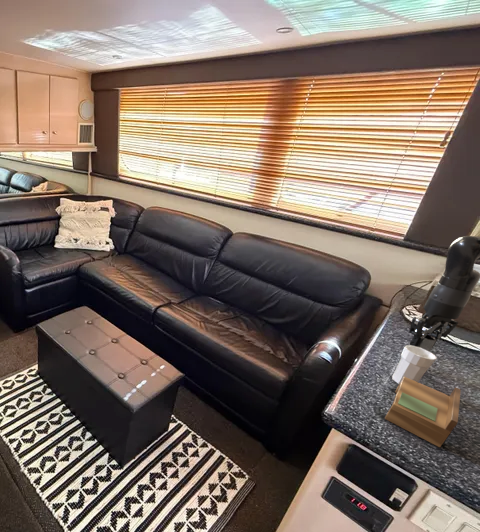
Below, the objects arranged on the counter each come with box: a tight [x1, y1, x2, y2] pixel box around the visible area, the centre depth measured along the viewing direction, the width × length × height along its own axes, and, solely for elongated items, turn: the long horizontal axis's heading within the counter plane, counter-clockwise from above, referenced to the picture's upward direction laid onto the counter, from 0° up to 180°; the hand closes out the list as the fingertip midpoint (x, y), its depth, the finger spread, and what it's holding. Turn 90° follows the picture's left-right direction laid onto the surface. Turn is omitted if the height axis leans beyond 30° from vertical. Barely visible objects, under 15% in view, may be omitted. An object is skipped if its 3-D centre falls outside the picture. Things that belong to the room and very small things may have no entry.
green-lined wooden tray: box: [384, 377, 462, 448], centre depth 82 cm, size 18×10×8 cm, turn 129°
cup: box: [391, 344, 438, 385], centre depth 94 cm, size 7×7×11 cm
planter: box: [420, 332, 437, 352], centre depth 103 cm, size 4×4×10 cm
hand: (420, 346), depth 103 cm, fingers closed on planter, 4 cm apart
